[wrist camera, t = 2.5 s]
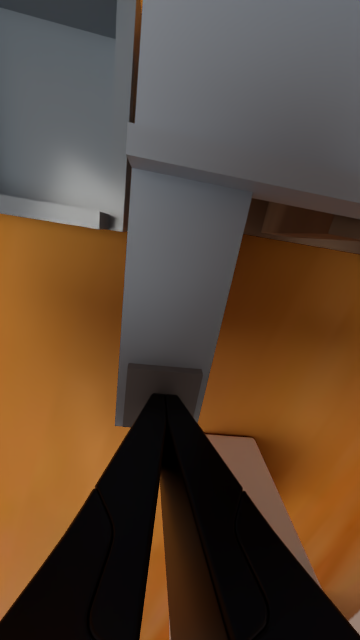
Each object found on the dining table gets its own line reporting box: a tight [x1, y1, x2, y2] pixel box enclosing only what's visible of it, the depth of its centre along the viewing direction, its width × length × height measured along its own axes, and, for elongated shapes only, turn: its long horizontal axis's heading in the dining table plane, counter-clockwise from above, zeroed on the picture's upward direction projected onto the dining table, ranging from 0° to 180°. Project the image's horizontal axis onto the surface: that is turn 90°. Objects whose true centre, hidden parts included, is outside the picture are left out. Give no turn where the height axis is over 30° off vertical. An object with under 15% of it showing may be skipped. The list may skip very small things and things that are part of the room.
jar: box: [169, 434, 322, 640], centre depth 14 cm, size 9×8×12 cm
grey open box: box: [0, 0, 142, 232], centre depth 8 cm, size 8×8×4 cm
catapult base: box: [243, 198, 360, 254], centre depth 9 cm, size 15×6×6 cm, turn 81°
